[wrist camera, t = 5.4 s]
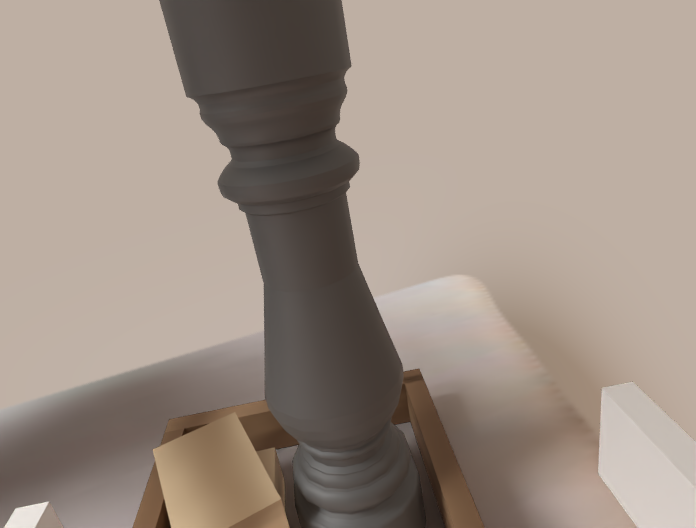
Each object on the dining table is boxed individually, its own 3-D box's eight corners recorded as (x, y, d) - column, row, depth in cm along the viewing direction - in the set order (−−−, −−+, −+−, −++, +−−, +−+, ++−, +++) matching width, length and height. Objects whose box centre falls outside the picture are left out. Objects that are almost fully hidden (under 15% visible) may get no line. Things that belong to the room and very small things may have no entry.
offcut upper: (199, 603, 21) (177, 555, 20) (170, 492, 27) (152, 449, 26) (295, 547, 22) (281, 498, 21) (248, 453, 28) (235, 411, 27)
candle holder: (284, 563, 25) (103, -4, 15) (338, 468, 30) (229, -3, 20) (403, 604, 22) (277, -56, 12) (440, 492, 27) (372, -40, 17)
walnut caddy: (99, 763, 19) (67, 718, 17) (183, 455, 33) (168, 419, 32) (524, 668, 19) (521, 618, 18) (424, 405, 33) (419, 368, 32)
